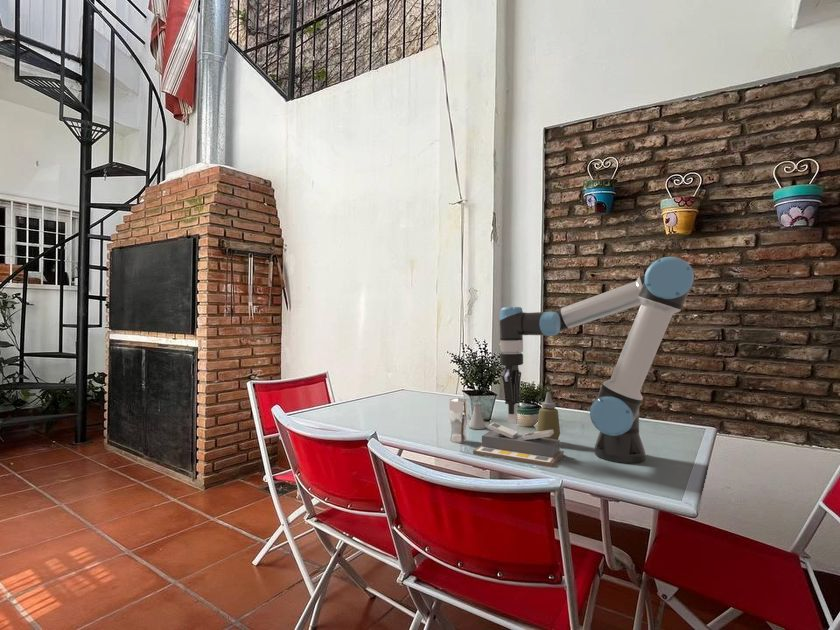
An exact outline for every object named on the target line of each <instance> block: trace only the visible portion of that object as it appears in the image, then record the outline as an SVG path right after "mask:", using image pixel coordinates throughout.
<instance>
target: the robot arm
mask: <svg viewBox="0 0 840 630" xmlns="http://www.w3.org/2000/svg"><path fill="white" fill-rule="evenodd" d="M694 283H695V272H694V270H693V268H692V266H691V264H689V263H688V262H687V261H686V260H684V259H682V258H679V257H675V256H666V257H665V256H664V257H661V258H658V259H656V260H655V261H653V262H652V263H651V264H650V265H649V266H648V267H647V268H646V271H645V274H643V275H639V276H638V277H637V279H636V280H635V281H631V282H629V283H627V284H624V285H622V286H621V285H620V286H619V287H616V288H614V289H610V290H607V291H606V292H602V293H600V294H597V295H594V296H590V297H589V298H586V299H582V300H581V301H578V302H575V303H571V304H569V305H567V306H563V307H561V308H558V309H555V310H553V311H542V312H541V311H538V312H523V308H522V307H521V306H505V307H502V308H501V309H500V310H499V320H498V321H499V341H500V342H499V343H498V345H499V349H500V350H499V351H500V352H501V353H500V365H502V366H505V369H504V374H503V375H502V376H501V379H502V382H503V391H504V401H505V402H504V404H506V405H507V422H508V423H507V424H511V425H517V424H519V423H518V421H519V420H518V404H520V403H521V401H520V395H521V394H520V393H521V379H522V378H521V377H522V372H521V371H520V370H519V366H521V365H523V364H524V354H523V352H524V338H523V336H546V337H549V336H557V335H558V334H560V333H561V332H562V331H563V332H564V331H566V330H569V329H573V328H574V327H579V326H580V325H581V326H582V325H584V324H587V323H590V322H592V321H596V320H598V319H601V318H604V317H607V316H611V315H614V314H617V313H620V312H623V311H626V310H629V309H632V308H635V307H638V306H639V308H638V310H637V313H636V315H635V318H634V321H633V322H632V326H631V328H630V330H629V333H628V335H627V338H626V340H625V343H624V345H623V347H622V350H621V352H620V355H619V357H618V359H617V362H616V365H615V367H614V369H613V371H612V374H611V377H610V379H607V380H605V381H603V382H602V384H601V385H600V388H599V392H598V394H597V395H596V399H595V400H594V401H593V402H592V404H591V405H590V409H589V418H590V421H591V423H592V425H593V426H594V427H595V428H596V429H597V431H599V433H598V436H597V439H596V442H595V444H594V455H595V456H596V457H598V458H599V459H600V458H601V459H603V460H606V461H610V462H617V463H621V464H622V463H625V464H630V463H631V464H633V463H634V464H637V463H641V462H644V461H646V450H645V447H644V444H643V441H642V439H641V436H640V435H641V434H640V407H641V404H642V402H643V399H644V397H643V395H642V393H641V390H642V387H643V385H644V382H645V381H646V379H647V375H648V374H649V372H650V369H651V367H652V364H653V361H654V359H655V356H656V355H657V352H658V350H659V347H660V345H661V343H662V340H663V337H664V335H665V333H666V330H667V328H668V326H669V324H670V321H671V319H672V318H673V317H672V316H674V314H676V313H679V312H681V311H682V309H683V306H684V304H685V302H686V299H687V297H688V295H689V293H690V291H691V289H692V287H693V285H694Z"/></svg>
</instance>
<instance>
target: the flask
mask: <svg viewBox="0 0 840 630" xmlns="http://www.w3.org/2000/svg"><path fill="white" fill-rule="evenodd" d="M481 406H482V402H473V412H472V415H471V418H470V421H469V424H468V428H469V429H472V430H482V429H483V430H484V429H486V428H487V426H486V423H485V419H484V418H483V414H482V410H481Z"/></svg>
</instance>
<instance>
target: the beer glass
mask: <svg viewBox="0 0 840 630" xmlns="http://www.w3.org/2000/svg"><path fill="white" fill-rule="evenodd" d="M448 414H449V424H450V428H451V431H450V432H451V433H450V439H449V440H450V442H451V443H455V444H464V443H467V442H468V439H467V438H468V437H467V431H466V430H467V425H468V419H469V403H468V399H467V398H464V397H463V398H461V397H459V398H458V397H456V398H450V399H449V406H448Z"/></svg>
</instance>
